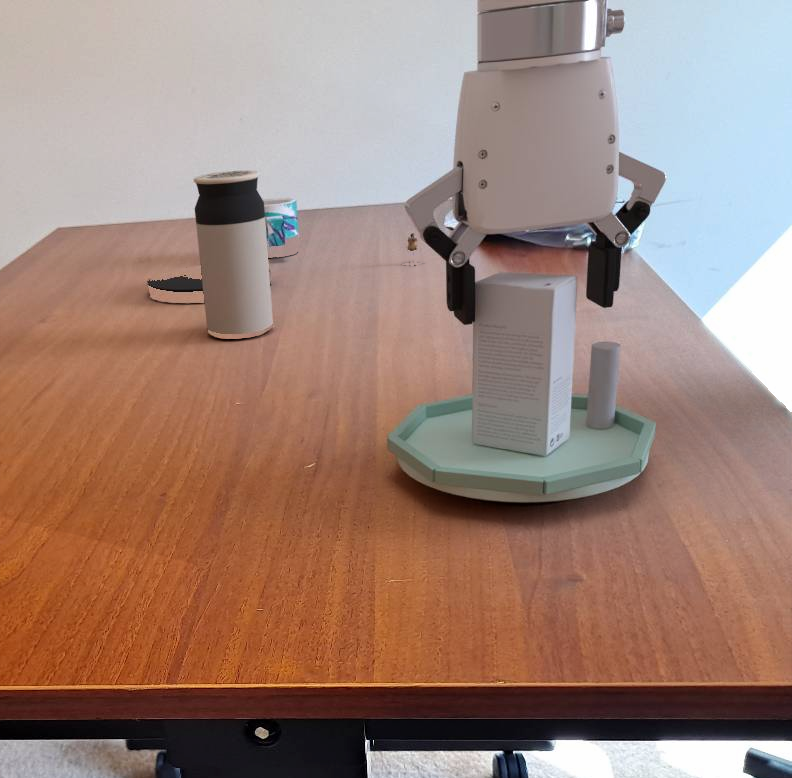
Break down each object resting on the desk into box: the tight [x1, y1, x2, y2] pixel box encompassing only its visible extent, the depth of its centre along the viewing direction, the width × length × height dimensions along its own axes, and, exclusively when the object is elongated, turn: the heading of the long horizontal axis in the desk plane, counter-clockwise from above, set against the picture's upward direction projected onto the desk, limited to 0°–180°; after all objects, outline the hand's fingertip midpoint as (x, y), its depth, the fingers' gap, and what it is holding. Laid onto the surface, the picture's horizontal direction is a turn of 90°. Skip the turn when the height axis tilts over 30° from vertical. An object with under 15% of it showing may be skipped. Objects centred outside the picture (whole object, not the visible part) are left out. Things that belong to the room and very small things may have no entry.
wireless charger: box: [146, 269, 271, 292], centre depth 141 cm, size 18×18×2 cm
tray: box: [386, 341, 657, 502], centre depth 71 cm, size 18×18×7 cm
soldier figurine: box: [405, 233, 418, 251], centre depth 144 cm, size 2×1×4 cm, turn 46°
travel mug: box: [193, 170, 274, 334], centre depth 114 cm, size 8×8×18 cm
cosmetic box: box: [471, 271, 579, 456], centre depth 69 cm, size 6×4×12 cm
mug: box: [262, 197, 299, 247], centre depth 158 cm, size 8×12×8 cm
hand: (531, 311), depth 68 cm, fingers open, 9 cm apart
